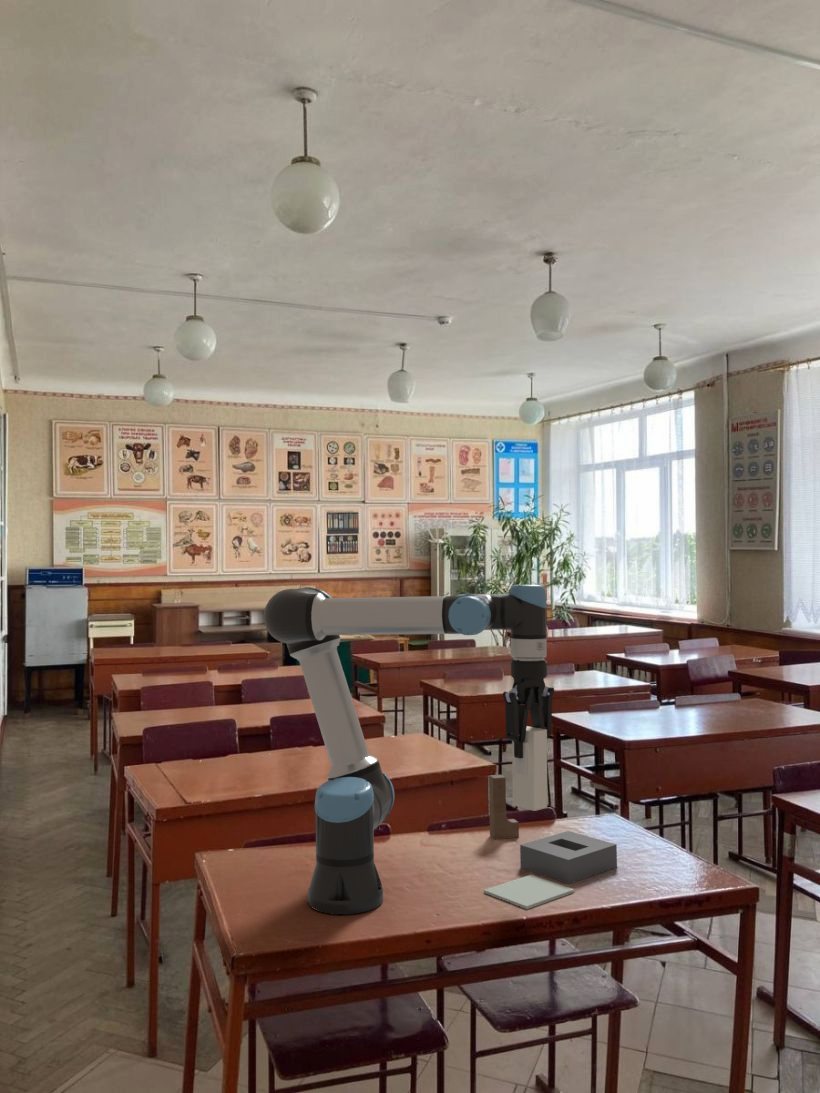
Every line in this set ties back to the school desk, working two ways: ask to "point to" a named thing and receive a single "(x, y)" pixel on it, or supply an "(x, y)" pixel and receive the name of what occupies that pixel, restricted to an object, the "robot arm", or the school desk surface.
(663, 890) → the school desk surface
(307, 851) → the school desk surface
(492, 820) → the wooden block
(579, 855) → the socket block
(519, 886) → the mat
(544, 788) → the plug
